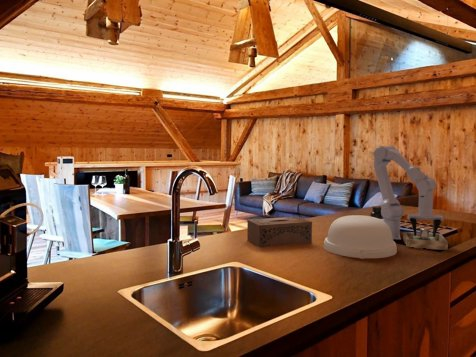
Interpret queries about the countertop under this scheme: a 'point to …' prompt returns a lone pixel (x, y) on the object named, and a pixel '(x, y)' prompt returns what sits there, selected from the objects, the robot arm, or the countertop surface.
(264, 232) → the tissue box cover
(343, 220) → the dome cover
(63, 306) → the countertop surface
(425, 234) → the steel peg
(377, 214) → the supplement bottle
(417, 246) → the peg box
